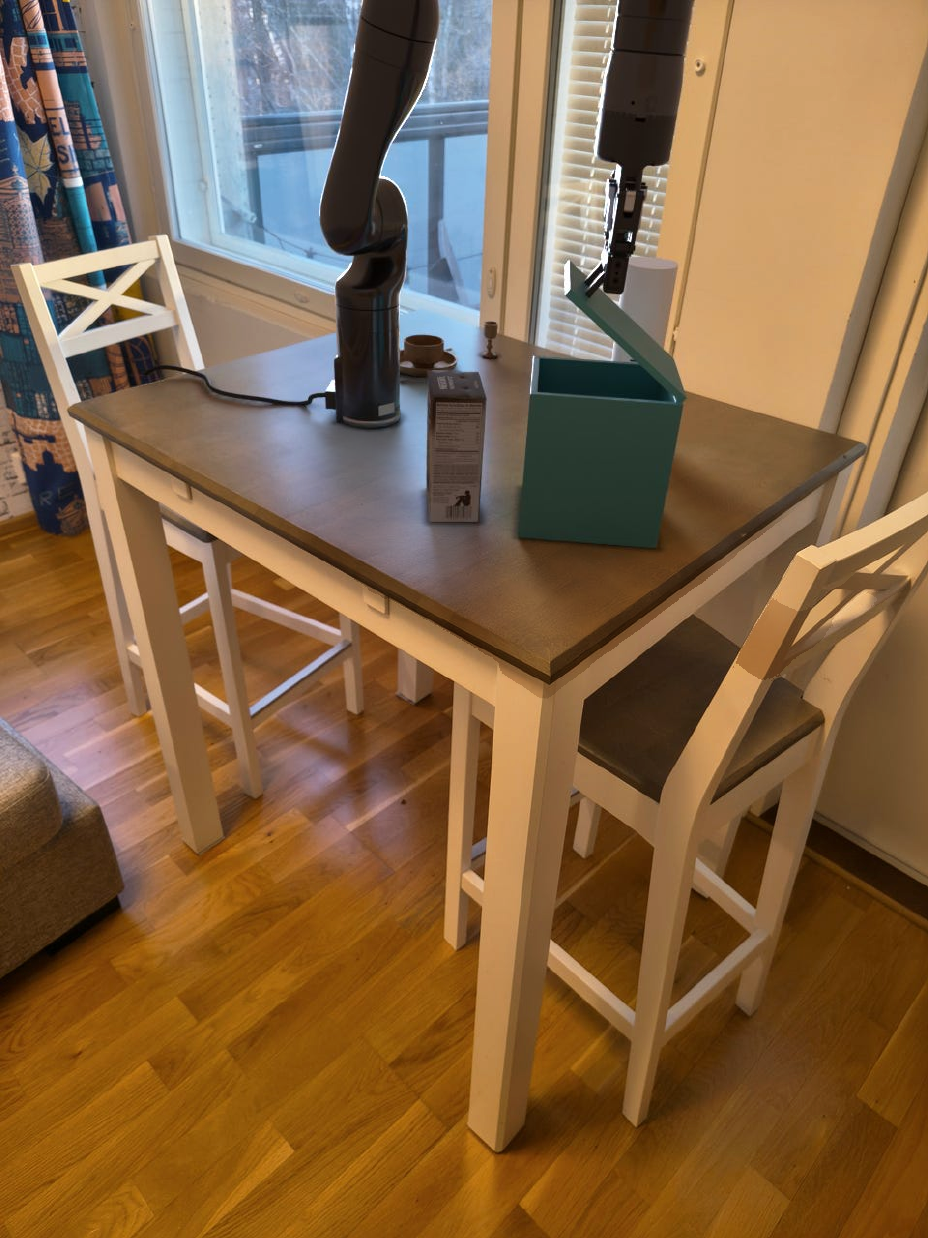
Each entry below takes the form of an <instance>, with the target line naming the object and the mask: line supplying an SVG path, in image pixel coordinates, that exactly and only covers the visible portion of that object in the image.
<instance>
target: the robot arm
mask: <svg viewBox="0 0 928 1238" xmlns="http://www.w3.org/2000/svg"><path fill="white" fill-rule="evenodd" d="M695 1H696V0H617V1H616V8H615V17H614V22H613V30H612V36H611V45H610V48H611V49H610V52H609V57H608V61H607V66H606V69H605V73H604V78H603V84H602V91H601V97H600V106H599V115H598V123H597V129H596V135H595V137H596V138H595V145H594V151H593V153H594V156H595V157H596V159H598V160H600V161H602V162H606V163H609V164H610V163H611V164H616V169H613V170H612V173H611V174H610V178H607V180H606V185H605V186H606V187H605V206H604V211H603V221H604V223H603V224H604V225H603V227H604V232H603V237H604V240H605V242H604V249H603V251H604V250H605V249H606V251H607V255H608V256H607V262H606V269H605V276H604V282H603V284H602V291H603V292H604V293H605V294H606V295H607V294H608V295H618V296H620V294H622V293H623V292H624V288H625V282H626V276H627V270H628V263H629V258H631V257H632V256H633V255H634V253H635V251H636V248H637V245H636V242H637V235H638V233H639V231H640V229H641V225H642V216H643V208H644V205H645V203H646V201H647V198H648V188H649V186H648V185H647V182H646V181H643V175H644V170H645V168H647V167H661V166H664V165H667V164H668V162H669V161H670V157H671V153H672V148H673V147H672V146H673V141H674V135H675V129H676V123H677V117H678V113H679V106H680V101H681V95H682V90H683V84H684V67H685V66H684V65H685V57H686V56H685V55H686V53H687V46H688V40H689V35H690V30H691V24H692V19H693V10H694V9H693V8H694V4H695ZM358 18H359V19H358V24H357V25H358V26H357V30H356V36H355V41H354V48H353V56H352V63H351V69H350V75H349V79H348V80H349V81H348V85H347V90H346V94H345V100H344V105H343V110H342V114H341V115H342V116H341V121H340V125H339V129H338V134H337V138H336V142H335V145H334V149H333V153H332V157H331V160H330V164H329V167H328V171H327V174H326V178H325V181H324V185H323V189H322V193H321V198H320V203H319V215H318V216H319V225H320V231H321V235H322V237H323V239H324V241H325V243H326V245H327V247H328V248H329V249H330V250H331V251H332V252H334V253H335V254H336V255H339V256H342V257H352V260H351V262H350V264H349V266H348V268H346V270H345V271H344V272H343V273H342V274H341V275H340V276H339V277H338V278H337V279H336V281H335V284H334V304H335V305H334V307H335V309H334V310H335V328H336V331H335V333H336V355H335V358H334V359H333V373H334V374H333V375H334V376H333V377H334V379H331V381H330V382H329V384H328V386H327V387H326V389H325V390H324V392H316V393H315V392H314V393H312V394H309V396H308V398H307V399H306V400H301V401H290V400H282V399H276V398H271V397H265V396H258V395H251V394H244V393H243V394H242V393H237V392H231V391H226V390H222V389H221V388H218V387H215V386H214V385H213V384H212V382H211V380H210V378H209V377H208V376H207V374H205V373H202V372H200V371H197V370H192V369H189V368H185V367H182V366H178V365H174V364H173V365H172V364H157V365H154V366H150V367H149V368H147V369H146V370H145V371H143V373H141V375H142V376H149V375H150V374H151V373H154V372H155V371H160V370H168V371H170V370H171V371H176V372H180V373H184V374H188V375H191V376H195V377H198V378H201V379H203V381H204V383H205V385H206V387H207V388H208V389H209V390H210V391H211V392H213V393H215V394H218V395H221V396H223V397H228V398H233V399H239V400H247V401H253V402H262V403H266V404H272V405H281V406H300V407H305V406H309V405H311V404H312V403H313V401H314V400H315V399H319V398H320V399H321V398H324V405H325V410H334V411H335V421H336V423H344V424H346V425H348V426H351V427H355V428H363V429H378V428H384V427H388V426H392V425H394V424H396V423H397V422H399V421H400V419H401V394H400V393H401V381H400V380H401V372H400V350H401V292H402V289H403V286H404V283H405V280H406V274H407V260H408V259H407V258H408V239H409V218H408V217H409V215H408V209H407V204H406V200H405V196H404V195H403V192H402V191H401V189H400V188H399V186H398V185H397V184H396V183H395V182H394V181H393V180H391V179H390V178H388V177H385V176H381V173H382V169H383V165H384V162H385V160H386V157H387V154H388V152H389V149H390V147H391V145H392V143H393V141H395V138H396V136H397V134H398V133H399V131H400V130H401V128H402V127H403V125H404V124H405V122H406V120H407V119H408V117H409V116H410V114H411V113H412V111H413V109H414V107H415V106H416V104H417V102H418V100H419V98H420V97H421V95H422V92H423V90H424V89H425V86H426V83H427V80H428V77H429V73H430V70H431V65H432V61H433V57H434V52H435V48H436V44H437V39H438V34H439V29H440V5H439V0H362V4H361V8H360V13H359V17H358ZM603 271H604V270H603ZM603 271H602V272H601V273H600V275H601V274H602V273H603Z"/></svg>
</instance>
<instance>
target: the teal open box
mask: <svg viewBox="0 0 928 1238" xmlns="http://www.w3.org/2000/svg"><path fill="white" fill-rule="evenodd" d="M530 378H531V379H530V390H529V398H528V399H529V401H528V412H527V413H528V414H527V424H526V434H525V436H526V437H525V446H524V459H523V460H524V461H523V471H522V472H523V473H522V482H521V494H520V503H519V504H520V506H519V515H518V517H519V518H518V528H517V538H522V539H535V540H545V541H559V542H570V543H571V542H572V543H583V544H584V543H585V544H594V545H595V544H598V545H608V546H620V547H632V548H633V547H634V548H645V549H646V548H647V549H657V548H658V544H659V537H660V533H661V526H662V522H663V516H664V511H665V506H666V500H667V496H668V491H669V484H670V478H671V475H672V470H673V462H674V459H675V454H676V453H675V452H676V446H677V442H678V437H679V432H680V424H681V421H682V415H683V411H684V410H683V409H684V403H680V402H679V401H678V400H677V399H676V398H675V397H674V396H673V395H672V394H671V393H670V392H669V391H667V390H666V389H665V388H664V387H663V386H662V385H661V384H660V383H659V382H658V381H657V380H656V379H655V378H653V377H652V376H651V375H650V374H649V373H648V372H647V371H646V370H645V369H644V368H643V367H642V366H640V365H639V364H638V363H634V362H619V361H611V360H603V359H589V358H587V359H586V358H577V357H575V358H574V357H561V356H560V357H559V356H548V355H547V356H546V355H532V367H531V376H530Z"/></svg>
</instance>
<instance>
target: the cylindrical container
mask: <svg viewBox="0 0 928 1238" xmlns="http://www.w3.org/2000/svg"><path fill="white" fill-rule="evenodd" d="M678 269H679V264H678V263H677V262H675V261H674V260H671V259H666V258H662V257H654V256H631V257H629V263H628V270H627V276H626V282H625V288H624V292H623V293H622V294H620V295H619V300H618V306H619V307H620V308H621V309H622V310H623V311H624V312H625V313H626V314H627V315H628V316H629V317H630V318H631V319H632V320H633V321H635V322H636V323H637V324H638V325H639V326H640V327H641V328H642V329H643V330H644V331H645V332H646V333H647V334H648V335H649V336H650V337H651V338H652V339H654V340H655V341H656V342H657V343H658V344H659V345H660V346H661V347H662V348H663V349H664V350H665V345H666V339H667V334H668V327H669V321H670V316H671V310H672V303H673V298H674V292H675V285H676V280H677V275H678ZM610 361H619V362H634V363H637V362H636V361H635V360H634V359H633V358H632V357H631V356H630V355H629V354H628V353H626V352H625V351H624V350H623V349H622V348H621V347H620V346H619V345H618V344H617V343H616V342H615V341H614V340H613V346H612V352H611V359H610Z"/></svg>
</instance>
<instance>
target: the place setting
mask: <svg viewBox="0 0 928 1238" xmlns="http://www.w3.org/2000/svg"><path fill="white" fill-rule="evenodd" d="M498 324H499V323H498V322H497V321H492V320H491V321H489V320H488V321H484V322H483V335H484V337H485V339H487V344H486V349H487V351H484V352H482V353H481V357H483V358H487V359H495V358H496V357H497V356H498V354H497V353H495V352H493V351H492V350H493V347H494V346H493V340H495V339H496V338H497V335H498ZM453 350H454V349H453V347H451V348H447V349H446V348H445V341H444V339H443V338H441V337H440V336H437V335H433V334H413V335H409V336H406V337H404V339H403V348H402V349H400V373H402V374H404V375H408V376H410V377H411V376H412V377H415V378H403V379H400V382H410V381H419V380H421V381H422V380H428V371H430V370H452V371H454V370H455V368H457V365H458V360H459V359H458V356H456V354H454V353H453V352H451V351H453ZM416 377H417V378H416Z"/></svg>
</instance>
